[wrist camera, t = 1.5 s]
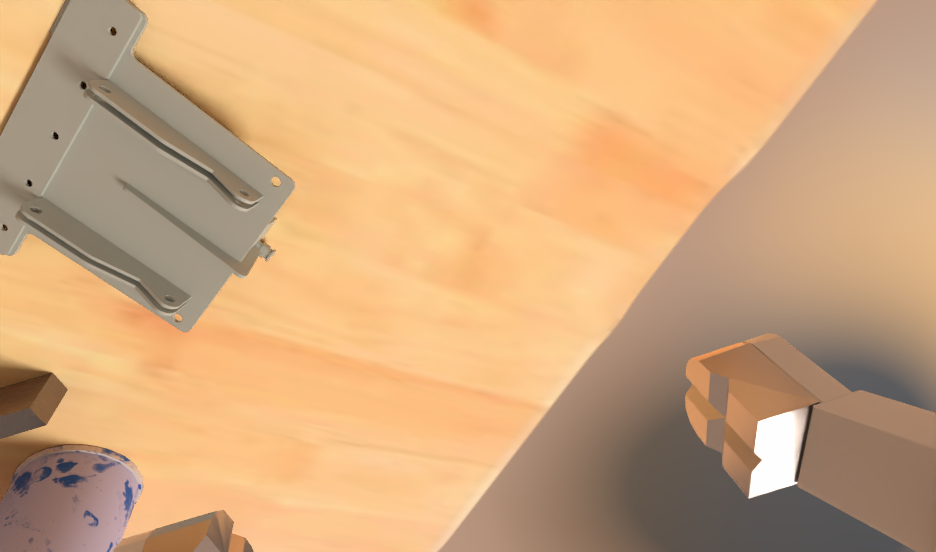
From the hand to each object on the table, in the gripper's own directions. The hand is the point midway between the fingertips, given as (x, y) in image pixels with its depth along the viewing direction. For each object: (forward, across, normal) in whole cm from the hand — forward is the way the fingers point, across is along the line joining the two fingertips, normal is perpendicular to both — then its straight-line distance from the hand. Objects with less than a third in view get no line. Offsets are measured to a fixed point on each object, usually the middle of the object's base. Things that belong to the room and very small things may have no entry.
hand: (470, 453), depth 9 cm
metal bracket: (+24, +12, -1) cm, 27 cm away
